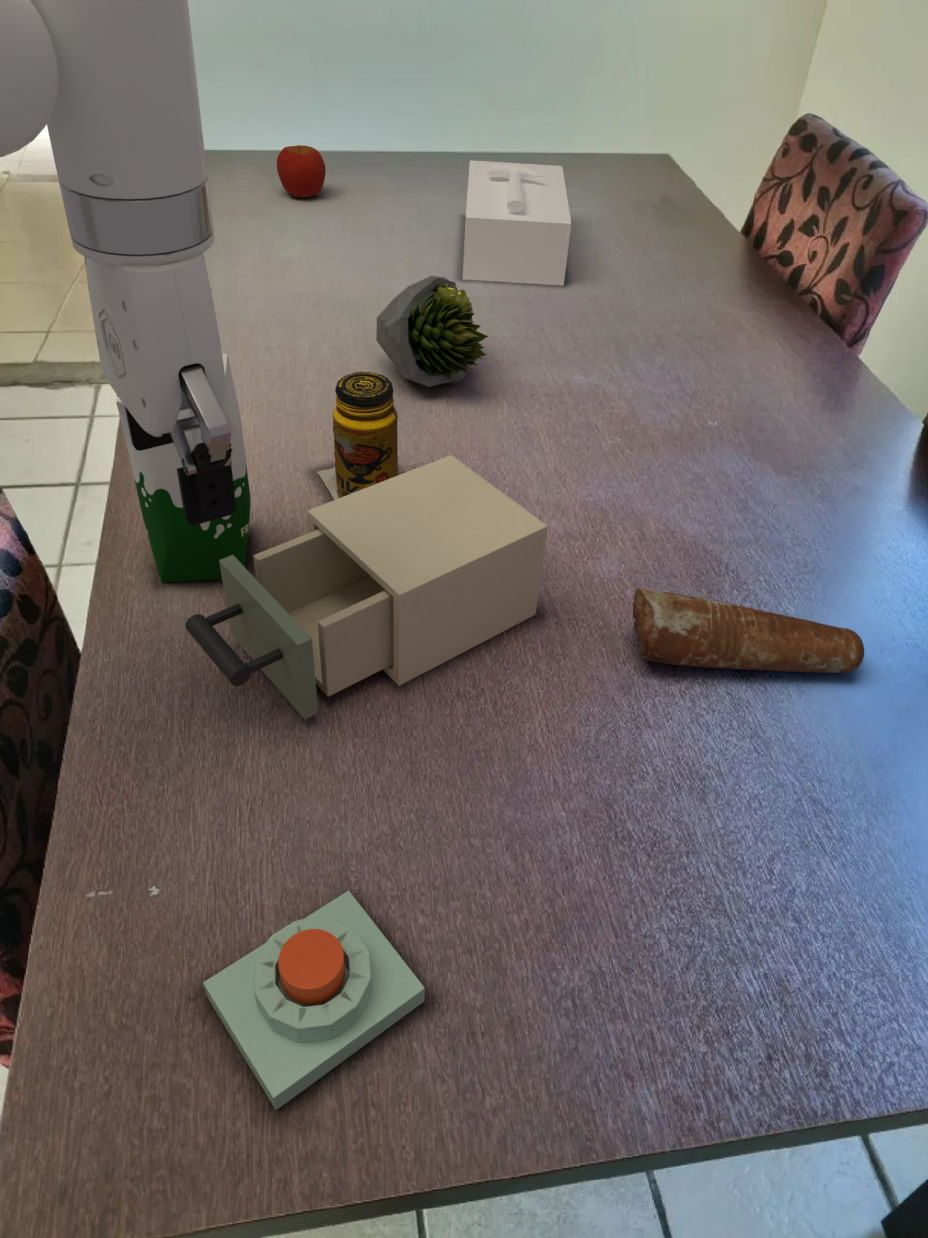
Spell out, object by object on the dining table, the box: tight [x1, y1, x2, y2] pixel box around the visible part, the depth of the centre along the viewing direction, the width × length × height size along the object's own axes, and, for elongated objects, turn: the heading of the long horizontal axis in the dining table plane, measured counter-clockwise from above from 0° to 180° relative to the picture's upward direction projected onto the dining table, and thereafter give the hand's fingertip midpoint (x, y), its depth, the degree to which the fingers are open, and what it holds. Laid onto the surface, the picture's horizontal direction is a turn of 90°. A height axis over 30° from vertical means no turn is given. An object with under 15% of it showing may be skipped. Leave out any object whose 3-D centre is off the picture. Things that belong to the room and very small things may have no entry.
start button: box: [278, 929, 345, 1004], centre depth 53 cm, size 4×4×2 cm
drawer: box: [185, 529, 394, 720], centre depth 73 cm, size 18×11×8 cm, turn 129°
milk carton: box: [115, 353, 252, 583], centre depth 78 cm, size 9×9×20 cm
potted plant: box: [376, 275, 489, 388], centre depth 108 cm, size 12×13×15 cm
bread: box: [632, 587, 865, 674], centre depth 76 cm, size 6×19×6 cm, turn 84°
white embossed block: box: [462, 160, 572, 287], centre depth 139 cm, size 14×25×11 cm, turn 178°
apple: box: [276, 144, 327, 199], centre depth 153 cm, size 8×8×8 cm
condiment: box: [316, 371, 399, 501], centre depth 90 cm, size 7×8×12 cm
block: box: [202, 890, 426, 1111], centre depth 54 cm, size 10×8×4 cm
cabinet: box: [307, 454, 548, 687], centre depth 78 cm, size 15×13×10 cm
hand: (183, 479), depth 62 cm, fingers open, 9 cm apart
